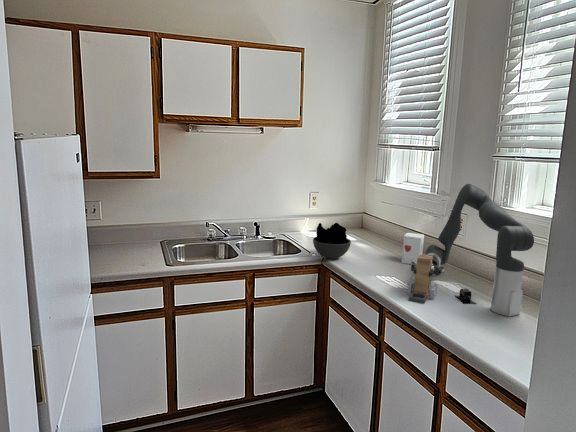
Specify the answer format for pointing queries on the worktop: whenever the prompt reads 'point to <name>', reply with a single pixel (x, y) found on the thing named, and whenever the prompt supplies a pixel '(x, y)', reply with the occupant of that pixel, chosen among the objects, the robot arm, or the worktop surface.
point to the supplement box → (412, 247)
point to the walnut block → (423, 273)
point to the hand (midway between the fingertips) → (422, 273)
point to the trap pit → (418, 298)
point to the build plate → (465, 296)
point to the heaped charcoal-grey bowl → (331, 241)
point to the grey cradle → (430, 295)
